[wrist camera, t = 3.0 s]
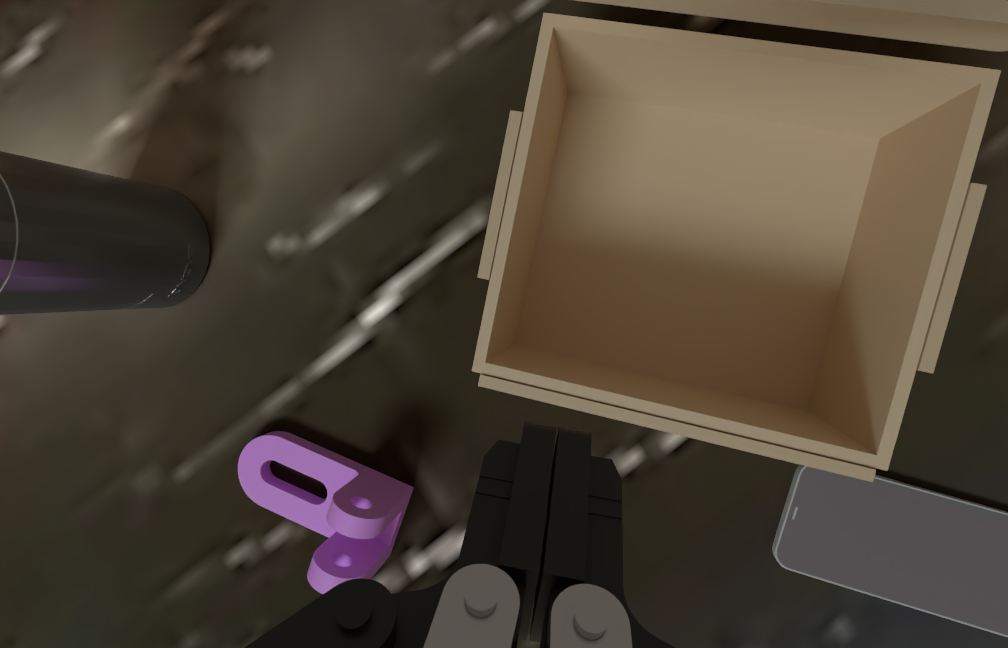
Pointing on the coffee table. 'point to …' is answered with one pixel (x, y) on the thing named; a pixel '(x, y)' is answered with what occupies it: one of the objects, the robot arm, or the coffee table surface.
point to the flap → (862, 17)
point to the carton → (730, 236)
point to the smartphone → (898, 545)
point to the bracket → (328, 504)
